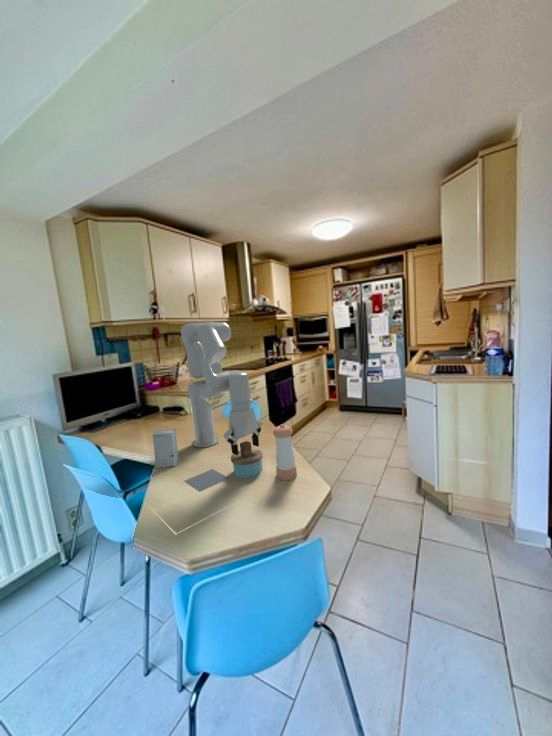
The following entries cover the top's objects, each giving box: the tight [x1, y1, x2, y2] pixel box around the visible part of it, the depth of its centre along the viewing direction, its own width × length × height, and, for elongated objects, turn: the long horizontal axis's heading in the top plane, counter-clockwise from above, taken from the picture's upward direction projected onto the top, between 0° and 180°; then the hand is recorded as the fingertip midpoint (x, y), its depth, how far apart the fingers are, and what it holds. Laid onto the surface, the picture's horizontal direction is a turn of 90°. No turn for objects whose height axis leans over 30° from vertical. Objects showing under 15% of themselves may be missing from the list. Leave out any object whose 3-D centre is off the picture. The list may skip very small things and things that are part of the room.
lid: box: [230, 440, 264, 465], centre depth 115 cm, size 12×12×6 cm
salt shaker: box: [272, 423, 298, 481], centre depth 109 cm, size 7×7×19 cm
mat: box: [184, 468, 230, 493], centre depth 112 cm, size 12×12×1 cm
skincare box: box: [152, 428, 179, 469], centre depth 129 cm, size 8×6×15 cm
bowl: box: [232, 458, 264, 479], centre depth 116 cm, size 11×11×6 cm
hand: (245, 449), depth 115 cm, fingers open, 9 cm apart
